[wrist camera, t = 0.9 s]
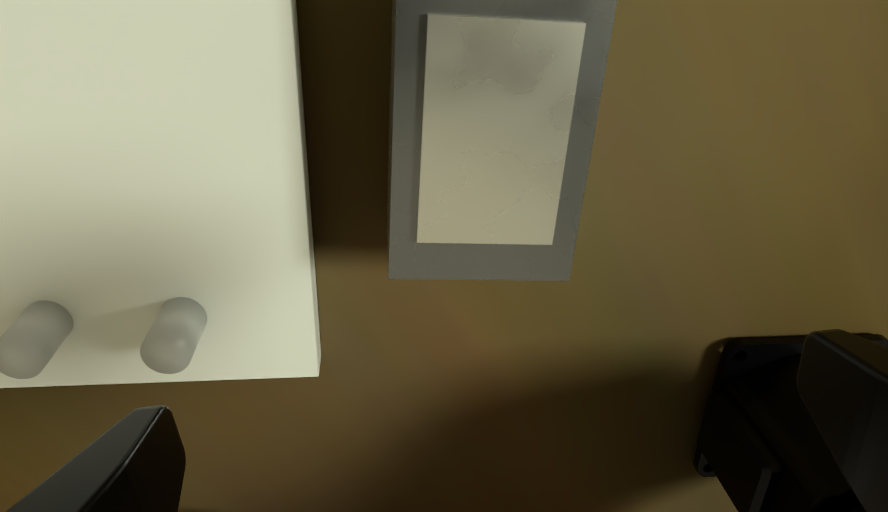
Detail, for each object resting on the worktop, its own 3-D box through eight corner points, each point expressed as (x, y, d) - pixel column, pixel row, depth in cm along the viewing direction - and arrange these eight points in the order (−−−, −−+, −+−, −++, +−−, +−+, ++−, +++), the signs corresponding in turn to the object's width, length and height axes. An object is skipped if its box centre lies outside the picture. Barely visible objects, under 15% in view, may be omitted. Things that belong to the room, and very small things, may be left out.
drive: (574, -43, 18) (625, -33, 14) (537, 221, 22) (570, 284, 18) (393, -55, 18) (398, -47, 14) (386, 218, 21) (388, 282, 18)
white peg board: (282, -192, 16) (262, -216, 13) (320, 355, 23) (313, 416, 20) (-267, -217, 15) (-420, -249, 12) (-44, 367, 22) (-106, 434, 19)
